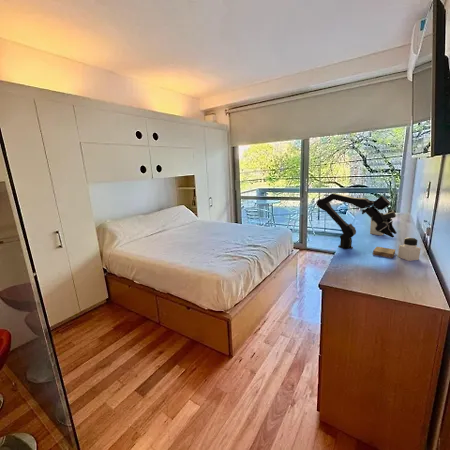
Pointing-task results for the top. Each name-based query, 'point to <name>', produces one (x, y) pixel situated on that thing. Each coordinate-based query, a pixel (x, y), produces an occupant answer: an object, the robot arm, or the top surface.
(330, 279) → the top surface
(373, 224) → the skincare box
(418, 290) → the top surface
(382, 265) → the top surface
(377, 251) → the walnut block
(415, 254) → the medicine bottle
